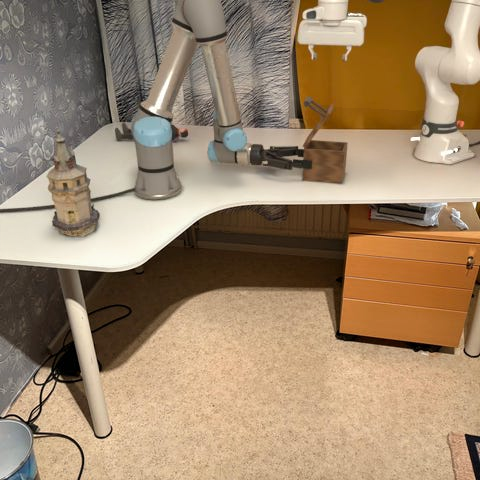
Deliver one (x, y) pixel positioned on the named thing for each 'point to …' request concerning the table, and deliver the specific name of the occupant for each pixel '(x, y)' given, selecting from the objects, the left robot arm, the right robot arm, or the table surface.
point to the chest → (325, 161)
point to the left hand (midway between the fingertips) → (314, 159)
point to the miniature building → (70, 193)
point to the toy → (128, 135)
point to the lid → (322, 120)
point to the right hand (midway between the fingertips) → (329, 60)
